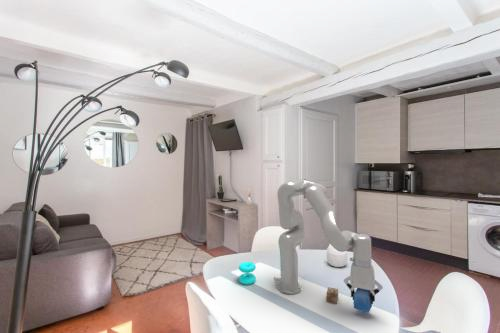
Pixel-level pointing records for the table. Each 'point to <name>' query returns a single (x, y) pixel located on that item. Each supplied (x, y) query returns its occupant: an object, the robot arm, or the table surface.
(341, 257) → the white jar
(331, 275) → the table surface
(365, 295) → the perfume bottle
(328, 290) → the letter cube
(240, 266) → the donuts
